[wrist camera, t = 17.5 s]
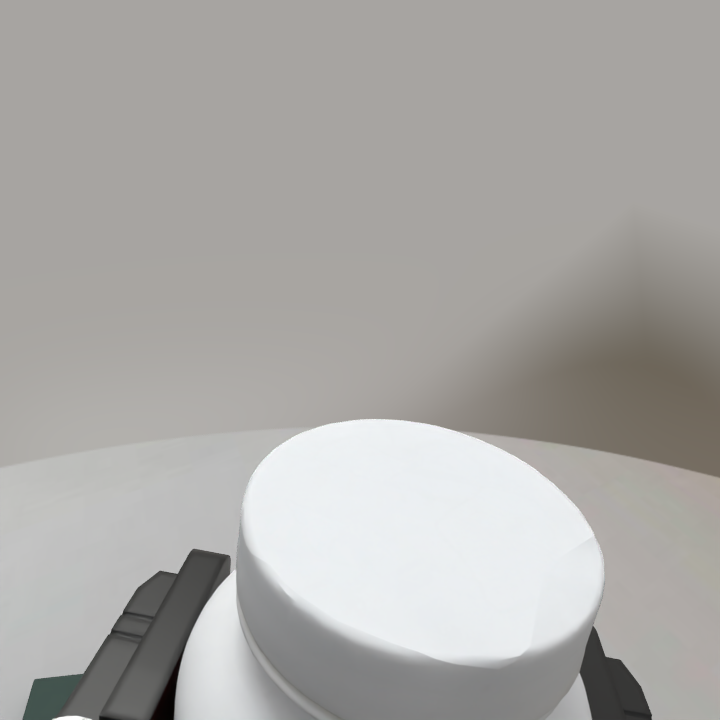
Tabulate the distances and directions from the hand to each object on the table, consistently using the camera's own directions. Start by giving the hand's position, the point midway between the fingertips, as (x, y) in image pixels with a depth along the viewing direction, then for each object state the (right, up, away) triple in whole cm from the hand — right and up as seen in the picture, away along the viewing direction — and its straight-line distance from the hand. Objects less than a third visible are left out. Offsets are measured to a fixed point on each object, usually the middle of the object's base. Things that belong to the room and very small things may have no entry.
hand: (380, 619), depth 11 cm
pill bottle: (-1, -7, 0) cm, 7 cm away
